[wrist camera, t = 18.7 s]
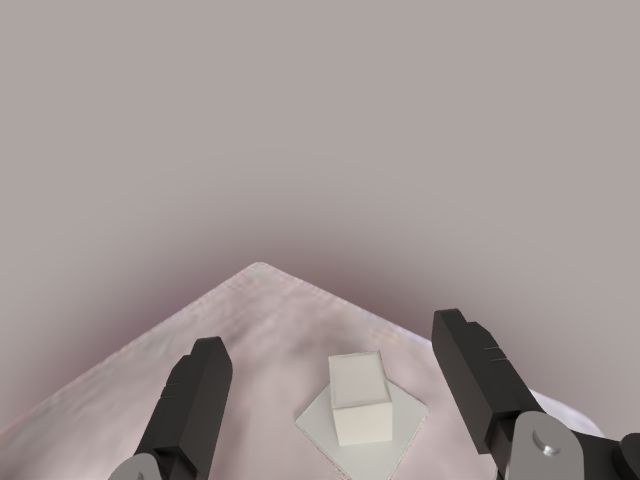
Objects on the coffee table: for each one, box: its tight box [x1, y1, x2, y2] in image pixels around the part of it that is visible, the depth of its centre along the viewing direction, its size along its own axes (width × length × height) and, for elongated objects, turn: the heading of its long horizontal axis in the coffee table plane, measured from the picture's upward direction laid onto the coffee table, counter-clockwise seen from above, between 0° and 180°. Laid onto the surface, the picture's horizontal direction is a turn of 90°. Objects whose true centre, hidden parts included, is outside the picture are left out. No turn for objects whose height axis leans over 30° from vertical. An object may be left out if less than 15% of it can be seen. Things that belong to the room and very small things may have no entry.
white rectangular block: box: [328, 351, 392, 446], centre depth 34 cm, size 6×6×8 cm
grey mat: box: [295, 380, 429, 480], centre depth 37 cm, size 12×12×1 cm
